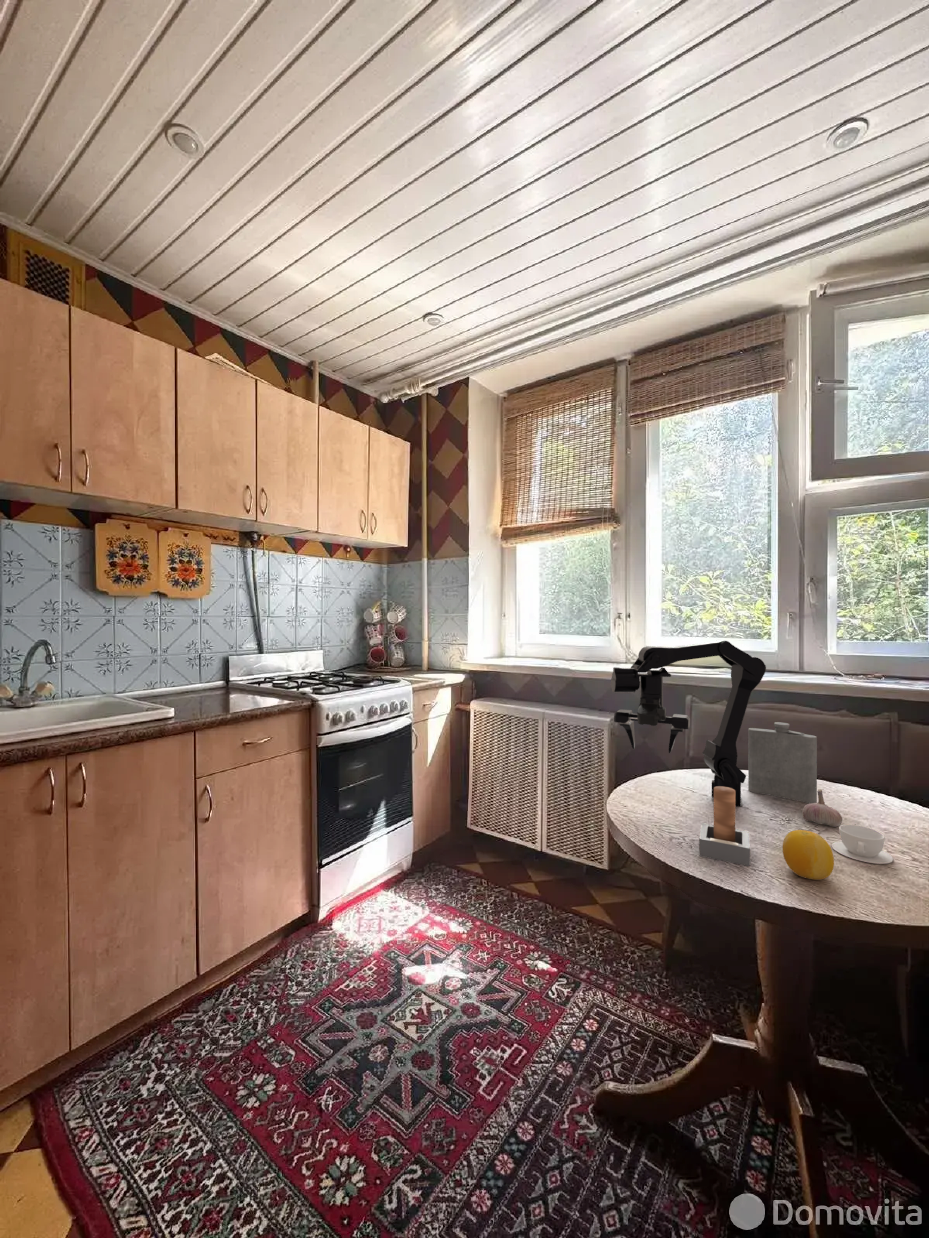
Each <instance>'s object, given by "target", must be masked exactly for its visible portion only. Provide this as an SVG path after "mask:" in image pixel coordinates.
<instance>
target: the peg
mask: <svg viewBox="0 0 929 1238" xmlns="http://www.w3.org/2000/svg"><path fill="white" fill-rule="evenodd" d="M713 799H714V802H713V825H714V839H720V840H725V841H730V842H735V829H736V806H735V790H734V789H732V788H729V787H723V786H716V787H714V798H713Z"/></svg>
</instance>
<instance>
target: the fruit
mask: <svg viewBox="0 0 929 1238" xmlns="http://www.w3.org/2000/svg"><path fill="white" fill-rule="evenodd" d="M782 855H783V858H784V861H785V863H786V864H787V866H788V868H789V869H790V870H791V871H792V872H793V873H794V874H796V875H798V876H799V877H801V878H805V879H809V880H816V881H817V880H824V879H826V878H828V877H829V876H831V875H832V872H833V871H834V867H835V857H834V853H833V850H832V846H830V844H829V843H828V842H827V841H826V839H825V838H824V837H823V836H821V835H820V834H818V833H816V832H814V831H809V830H804V829H795V830H792V831H790V832H788V833H787V834H786V835H785V836H784V838H783V841H782Z"/></svg>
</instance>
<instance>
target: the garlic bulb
mask: <svg viewBox="0 0 929 1238" xmlns="http://www.w3.org/2000/svg"><path fill="white" fill-rule="evenodd" d="M823 795H824V794H823V789H821V788H819V789H817V803H807V804H805V806H803V809H802V818H803V819H804V820H805V821H807V822H810V823H811V822H814V823H816V824H818V825H825V826H829V827H839V826H840V825H842V823H843V816H842V815H841V814H840V812H839V811H838V810H837V809H835V808H833V807H831V806H829V805H827V804H826V803H825V799H824V796H823Z"/></svg>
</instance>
